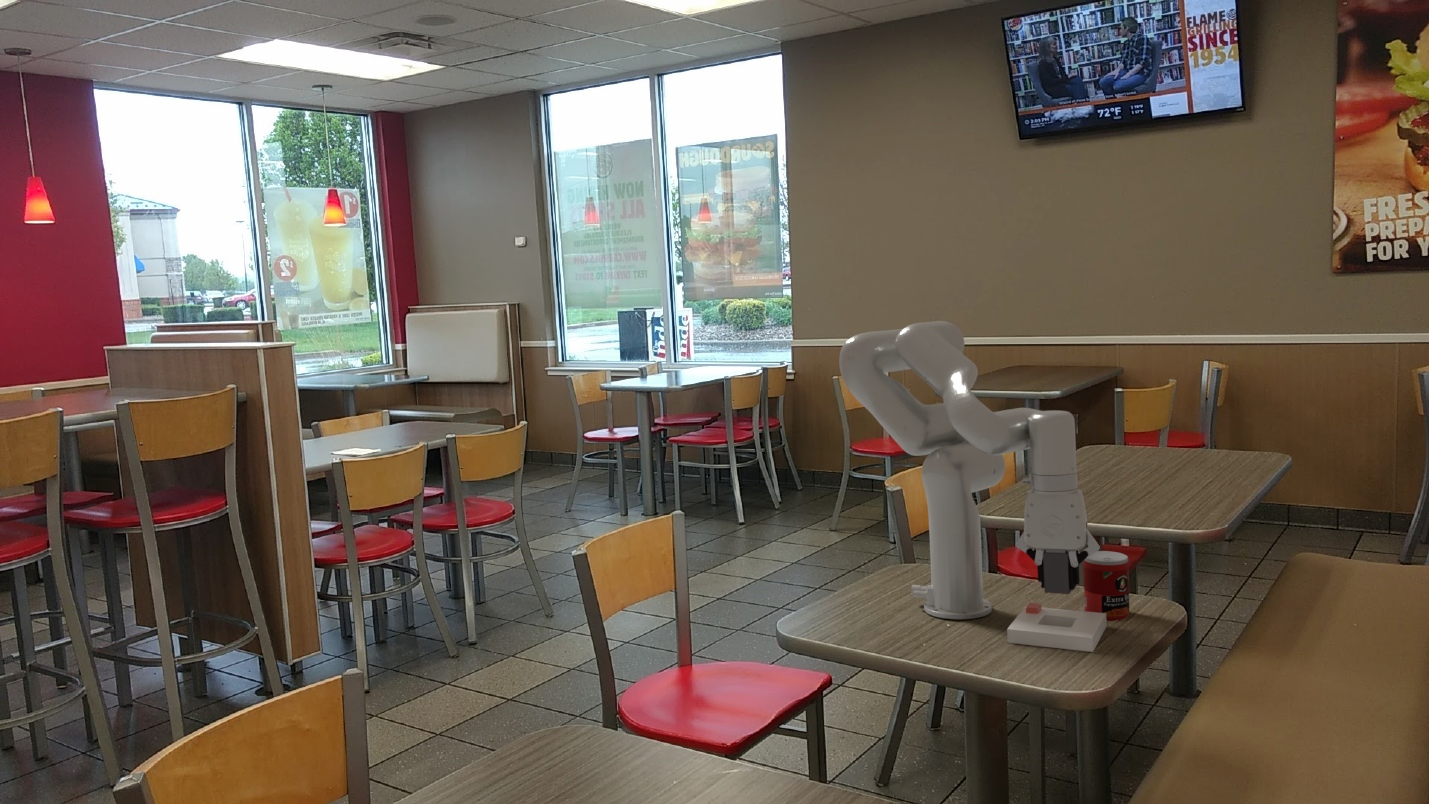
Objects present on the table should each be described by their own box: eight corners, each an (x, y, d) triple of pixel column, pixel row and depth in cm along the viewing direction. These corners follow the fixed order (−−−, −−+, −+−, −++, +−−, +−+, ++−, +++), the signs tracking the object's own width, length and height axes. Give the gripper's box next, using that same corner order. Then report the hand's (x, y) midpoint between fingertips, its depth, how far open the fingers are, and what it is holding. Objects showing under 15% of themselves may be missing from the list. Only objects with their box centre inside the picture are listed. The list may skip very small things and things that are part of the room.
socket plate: (1007, 642, 178) (1006, 623, 178) (1026, 618, 190) (1025, 600, 190) (1092, 652, 171) (1092, 632, 171) (1106, 626, 183) (1106, 607, 183)
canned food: (1107, 624, 185) (1105, 563, 184) (1075, 612, 192) (1073, 554, 191) (1139, 616, 188) (1138, 557, 187) (1106, 605, 195) (1105, 548, 194)
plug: (1044, 592, 179) (1042, 548, 178) (1049, 586, 182) (1047, 543, 182) (1068, 594, 177) (1066, 549, 176) (1073, 588, 180) (1071, 544, 180)
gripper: (999, 485, 179) (1005, 589, 180) (1101, 487, 171) (1106, 596, 172) (1010, 478, 186) (1015, 578, 187) (1109, 479, 177) (1113, 584, 179)
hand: (1058, 586), depth 180 cm, fingers closed on plug, 4 cm apart
